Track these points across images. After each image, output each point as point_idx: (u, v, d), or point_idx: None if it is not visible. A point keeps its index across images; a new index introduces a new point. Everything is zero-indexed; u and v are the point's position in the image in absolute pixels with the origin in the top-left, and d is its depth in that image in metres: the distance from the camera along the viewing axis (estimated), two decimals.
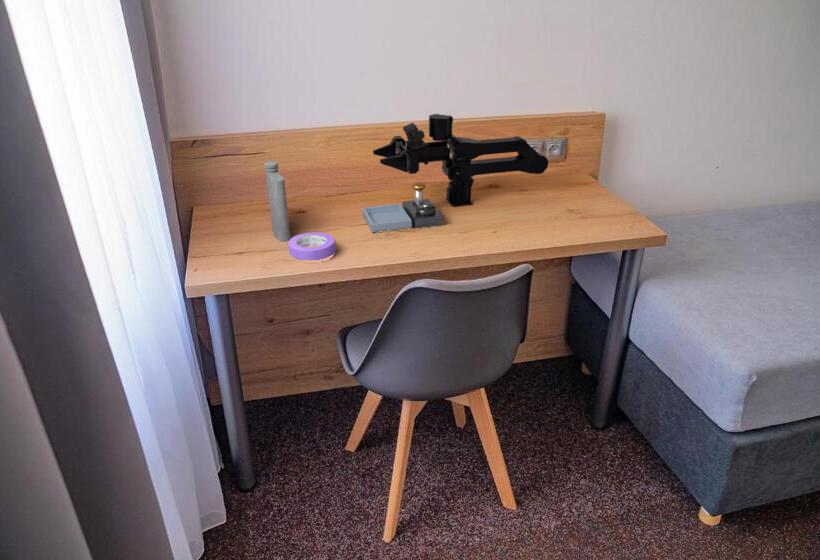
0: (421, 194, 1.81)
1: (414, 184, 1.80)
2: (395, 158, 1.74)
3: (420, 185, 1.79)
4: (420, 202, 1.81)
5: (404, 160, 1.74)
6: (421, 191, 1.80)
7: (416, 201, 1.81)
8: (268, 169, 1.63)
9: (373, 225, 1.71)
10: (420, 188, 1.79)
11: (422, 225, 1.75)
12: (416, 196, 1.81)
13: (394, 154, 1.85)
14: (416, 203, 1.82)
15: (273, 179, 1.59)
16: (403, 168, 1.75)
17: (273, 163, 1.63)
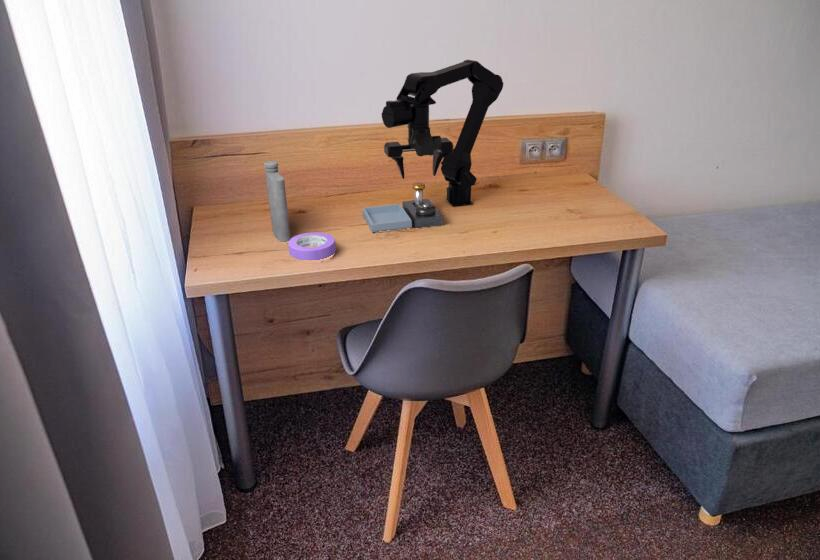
0: (421, 194, 1.81)
1: (414, 184, 1.80)
2: None
3: (420, 185, 1.79)
4: (420, 202, 1.81)
5: None
6: (421, 191, 1.80)
7: (416, 201, 1.81)
8: (268, 169, 1.63)
9: (373, 225, 1.71)
10: (420, 188, 1.79)
11: (422, 225, 1.75)
12: (416, 196, 1.81)
13: None
14: (416, 203, 1.82)
15: (273, 179, 1.59)
16: None
17: (273, 163, 1.63)
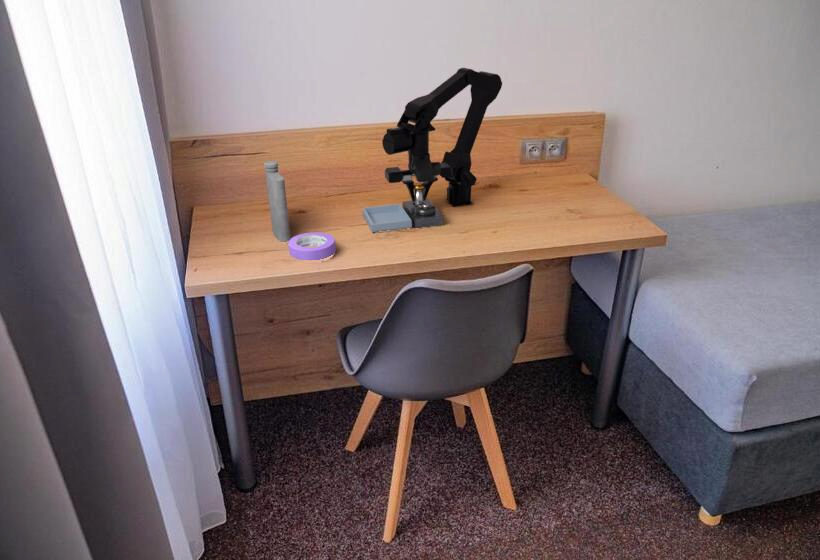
0: (421, 194, 1.81)
1: (414, 184, 1.80)
2: None
3: (420, 185, 1.79)
4: (420, 202, 1.81)
5: None
6: (421, 191, 1.80)
7: (416, 201, 1.81)
8: (268, 169, 1.63)
9: (373, 225, 1.71)
10: (420, 188, 1.79)
11: (422, 225, 1.75)
12: (416, 196, 1.81)
13: None
14: (416, 203, 1.82)
15: (273, 179, 1.59)
16: None
17: (273, 163, 1.63)
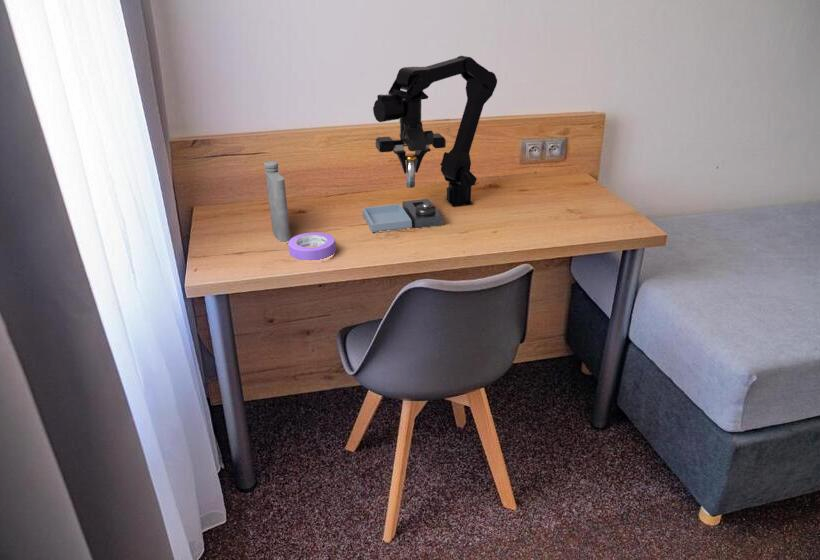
0: (413, 165, 1.75)
1: (406, 155, 1.75)
2: None
3: (412, 156, 1.74)
4: (412, 174, 1.76)
5: None
6: (413, 162, 1.75)
7: (408, 173, 1.76)
8: (268, 169, 1.63)
9: (373, 225, 1.71)
10: (412, 159, 1.73)
11: (422, 225, 1.75)
12: (408, 167, 1.75)
13: None
14: (408, 175, 1.76)
15: (273, 179, 1.59)
16: None
17: (273, 163, 1.63)
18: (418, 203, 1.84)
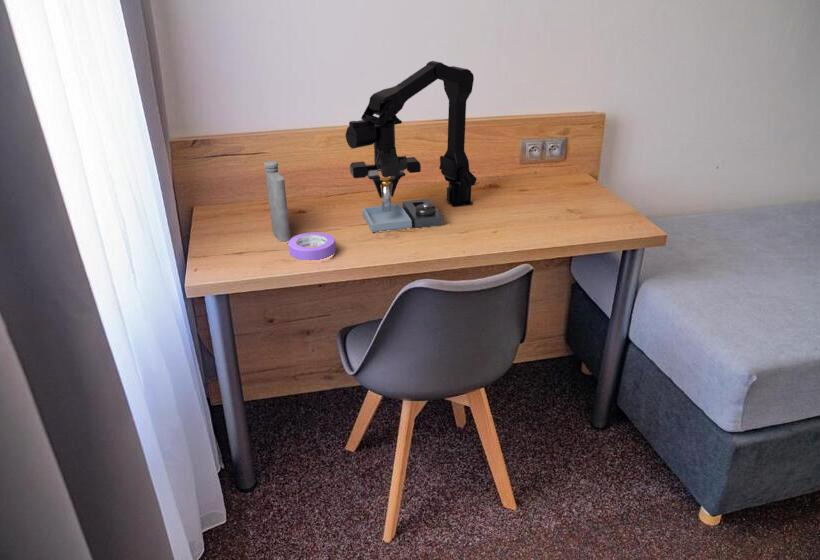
0: (388, 190, 1.74)
1: (381, 179, 1.73)
2: None
3: (387, 180, 1.72)
4: (387, 198, 1.74)
5: None
6: (388, 187, 1.73)
7: (383, 197, 1.74)
8: (268, 169, 1.63)
9: (373, 225, 1.71)
10: (387, 183, 1.72)
11: (422, 225, 1.75)
12: (383, 192, 1.74)
13: None
14: (383, 199, 1.75)
15: (273, 179, 1.59)
16: None
17: (273, 163, 1.63)
18: (418, 203, 1.84)
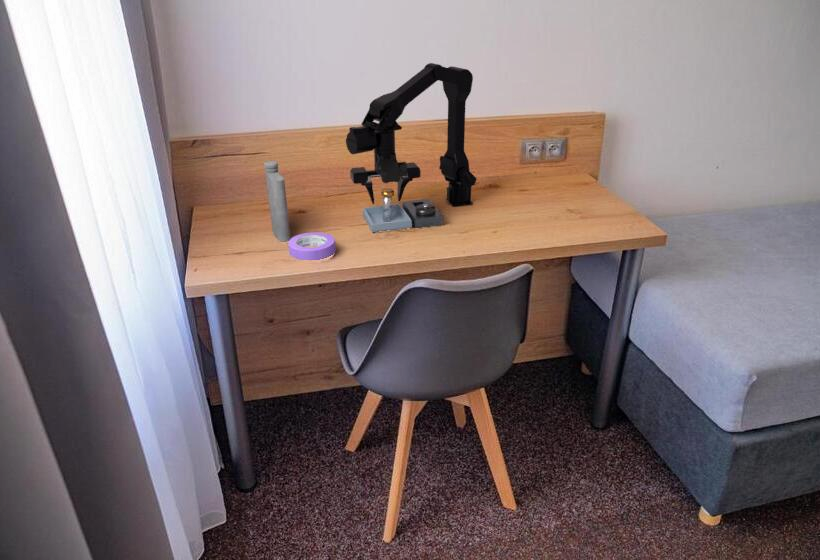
0: (390, 201, 1.75)
1: (383, 190, 1.74)
2: None
3: (389, 192, 1.73)
4: (388, 209, 1.76)
5: None
6: (390, 198, 1.74)
7: (384, 207, 1.76)
8: (268, 169, 1.63)
9: (373, 225, 1.71)
10: (389, 195, 1.73)
11: (422, 225, 1.75)
12: (384, 202, 1.75)
13: None
14: (384, 209, 1.76)
15: (273, 179, 1.59)
16: None
17: (273, 163, 1.63)
18: (418, 203, 1.84)
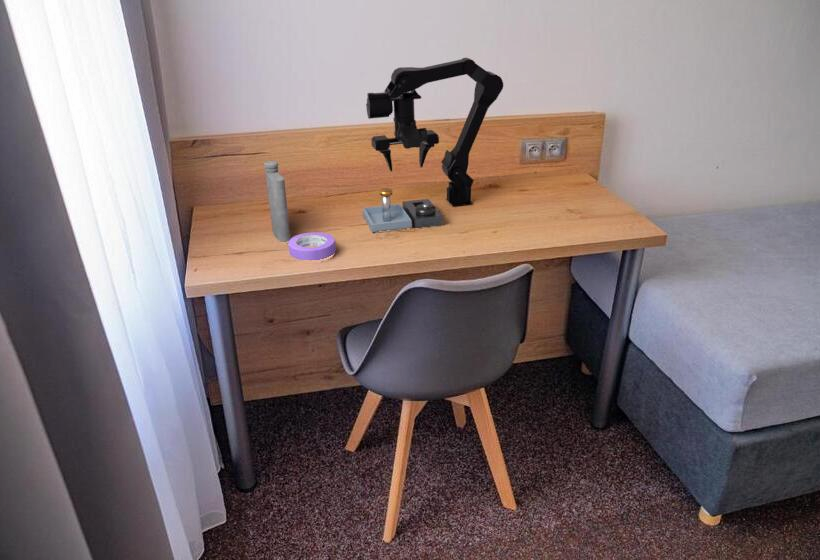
0: (388, 200, 1.75)
1: (381, 190, 1.75)
2: None
3: (387, 191, 1.74)
4: (387, 208, 1.76)
5: None
6: (388, 197, 1.75)
7: (383, 207, 1.76)
8: (268, 169, 1.63)
9: (373, 225, 1.71)
10: (387, 194, 1.73)
11: (422, 225, 1.75)
12: (383, 202, 1.75)
13: None
14: (383, 209, 1.76)
15: (273, 179, 1.59)
16: None
17: (273, 163, 1.63)
18: (418, 203, 1.84)
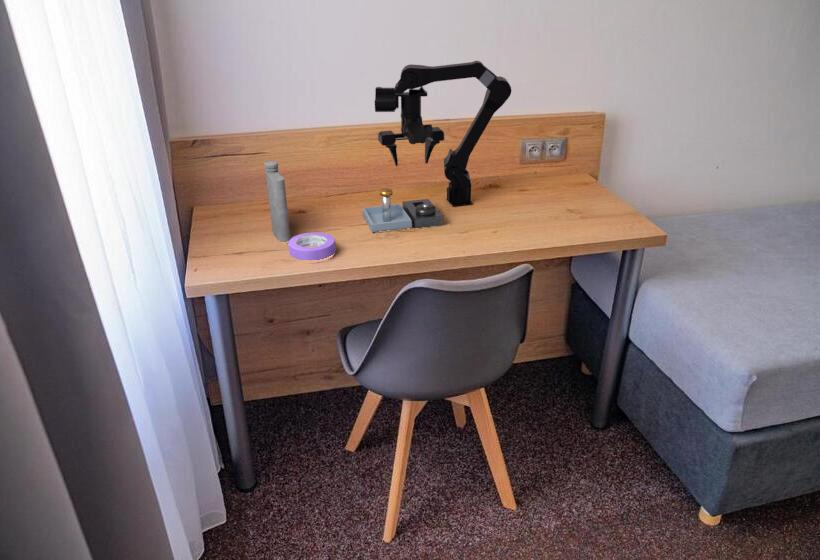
0: (388, 200, 1.75)
1: (381, 190, 1.75)
2: None
3: (387, 191, 1.74)
4: (388, 208, 1.76)
5: None
6: (388, 197, 1.74)
7: (383, 207, 1.76)
8: (268, 169, 1.63)
9: (373, 225, 1.71)
10: (387, 194, 1.73)
11: (422, 225, 1.75)
12: (383, 202, 1.75)
13: None
14: (383, 209, 1.76)
15: (273, 179, 1.59)
16: None
17: (273, 163, 1.63)
18: (418, 203, 1.84)
